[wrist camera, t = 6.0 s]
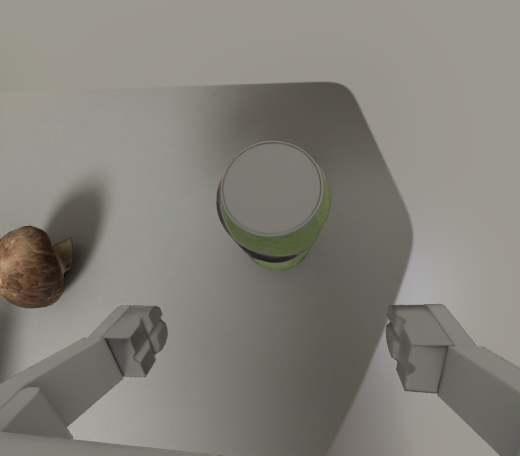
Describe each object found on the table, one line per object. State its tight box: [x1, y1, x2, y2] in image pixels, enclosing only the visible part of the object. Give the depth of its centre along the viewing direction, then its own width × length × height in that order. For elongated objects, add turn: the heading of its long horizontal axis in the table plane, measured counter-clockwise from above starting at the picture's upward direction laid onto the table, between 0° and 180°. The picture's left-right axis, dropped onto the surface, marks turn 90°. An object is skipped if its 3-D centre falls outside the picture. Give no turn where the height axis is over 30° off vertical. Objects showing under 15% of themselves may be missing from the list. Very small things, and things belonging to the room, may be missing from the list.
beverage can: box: [216, 141, 331, 270], centre depth 17 cm, size 6×7×12 cm
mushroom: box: [0, 226, 73, 308], centre depth 24 cm, size 8×8×6 cm
